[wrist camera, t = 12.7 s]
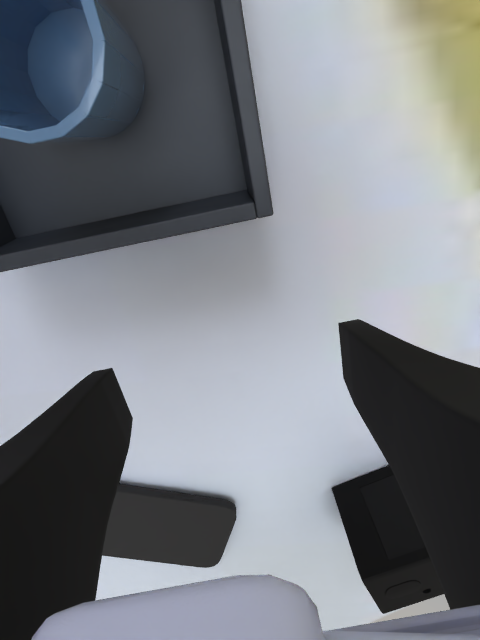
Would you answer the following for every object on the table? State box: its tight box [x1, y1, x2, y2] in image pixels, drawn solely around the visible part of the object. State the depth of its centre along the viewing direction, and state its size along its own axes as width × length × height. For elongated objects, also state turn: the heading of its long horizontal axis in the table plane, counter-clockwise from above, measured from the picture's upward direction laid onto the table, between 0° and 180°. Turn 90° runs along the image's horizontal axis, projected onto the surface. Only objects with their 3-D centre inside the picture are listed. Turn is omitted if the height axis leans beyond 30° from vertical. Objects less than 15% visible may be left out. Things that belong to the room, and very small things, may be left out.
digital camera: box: [332, 466, 444, 614], centre depth 27 cm, size 10×5×7 cm, turn 117°
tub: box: [0, 0, 273, 272], centre depth 15 cm, size 13×13×4 cm
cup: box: [0, 0, 145, 144], centre depth 14 cm, size 5×5×7 cm
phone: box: [102, 484, 236, 568], centre depth 29 cm, size 7×1×15 cm
